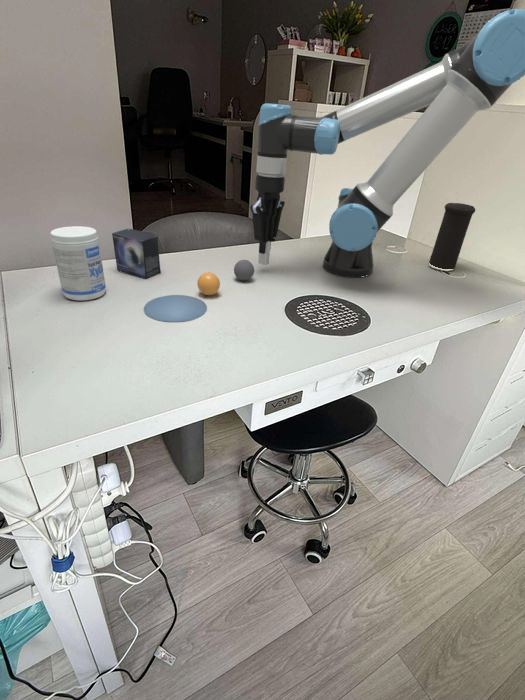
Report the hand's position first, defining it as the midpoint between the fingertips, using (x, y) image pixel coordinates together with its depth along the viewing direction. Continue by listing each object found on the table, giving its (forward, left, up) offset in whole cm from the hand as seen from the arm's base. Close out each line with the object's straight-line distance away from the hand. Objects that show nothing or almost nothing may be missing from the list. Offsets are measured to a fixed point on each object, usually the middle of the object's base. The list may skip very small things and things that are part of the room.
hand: (263, 263), depth 112 cm
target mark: (0, +34, -2) cm, 34 cm away
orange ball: (0, +23, 0) cm, 23 cm away
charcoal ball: (0, +9, 0) cm, 9 cm away
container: (-39, -46, -3) cm, 60 cm away
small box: (+24, +25, -3) cm, 35 cm away
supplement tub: (+21, +43, -3) cm, 48 cm away
